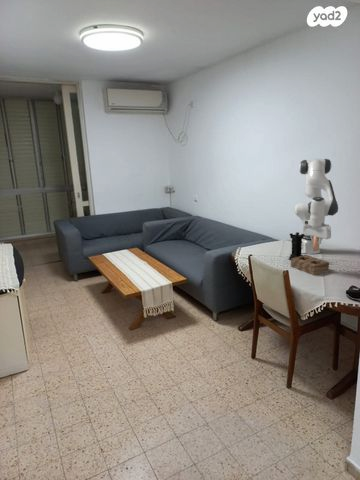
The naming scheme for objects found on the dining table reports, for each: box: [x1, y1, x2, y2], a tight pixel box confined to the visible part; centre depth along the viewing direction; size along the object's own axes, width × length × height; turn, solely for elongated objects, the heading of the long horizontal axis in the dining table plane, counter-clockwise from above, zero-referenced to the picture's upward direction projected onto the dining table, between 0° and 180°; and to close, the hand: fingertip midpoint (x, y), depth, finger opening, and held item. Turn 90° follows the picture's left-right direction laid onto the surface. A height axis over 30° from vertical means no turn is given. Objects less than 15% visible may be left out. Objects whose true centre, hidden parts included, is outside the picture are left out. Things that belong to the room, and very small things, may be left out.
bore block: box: [290, 254, 330, 276], centre depth 226 cm, size 20×14×6 cm
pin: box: [313, 236, 320, 251], centre depth 217 cm, size 4×4×10 cm
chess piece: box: [287, 231, 304, 261], centre depth 242 cm, size 8×8×20 cm
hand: (316, 242), depth 217 cm, fingers closed on pin, 3 cm apart
